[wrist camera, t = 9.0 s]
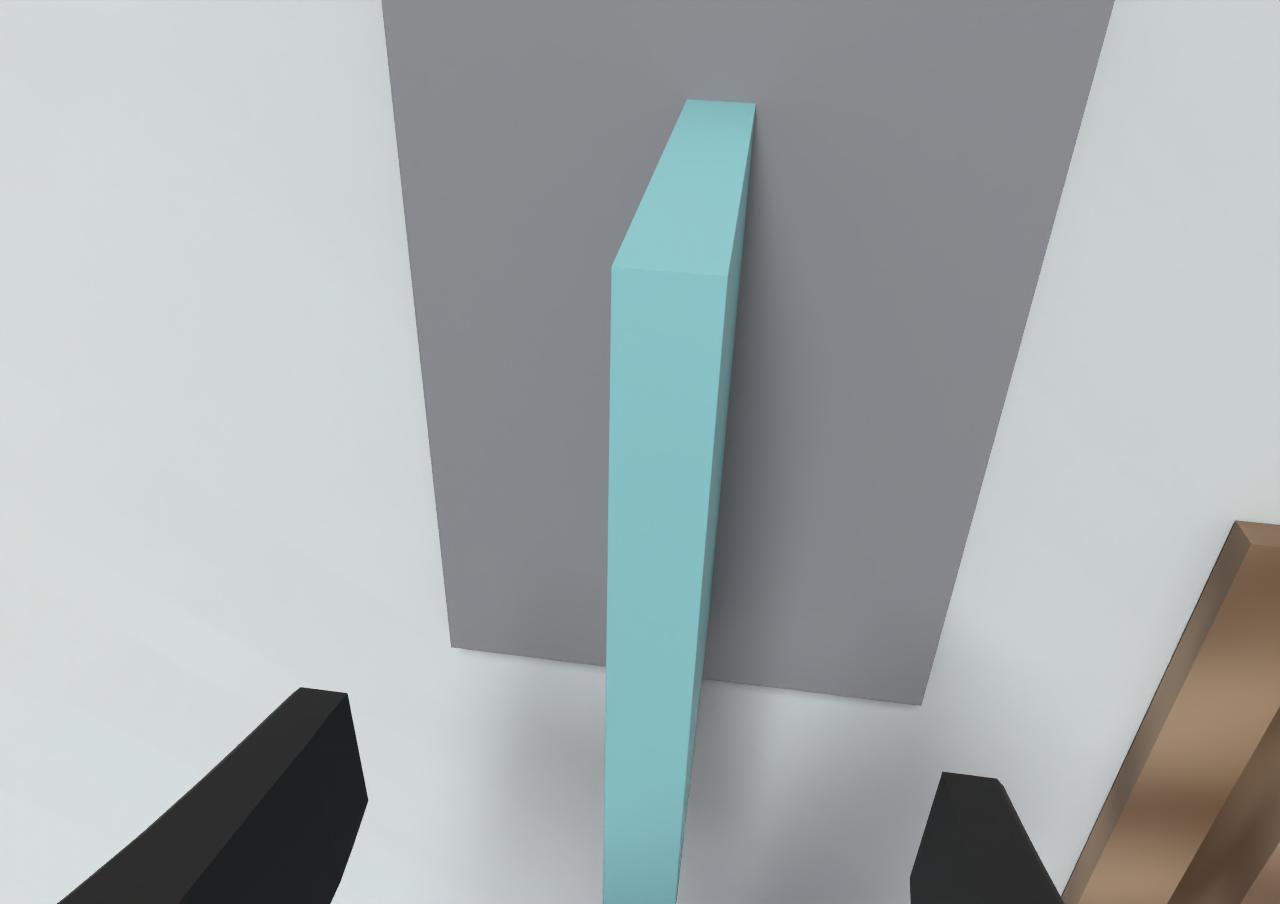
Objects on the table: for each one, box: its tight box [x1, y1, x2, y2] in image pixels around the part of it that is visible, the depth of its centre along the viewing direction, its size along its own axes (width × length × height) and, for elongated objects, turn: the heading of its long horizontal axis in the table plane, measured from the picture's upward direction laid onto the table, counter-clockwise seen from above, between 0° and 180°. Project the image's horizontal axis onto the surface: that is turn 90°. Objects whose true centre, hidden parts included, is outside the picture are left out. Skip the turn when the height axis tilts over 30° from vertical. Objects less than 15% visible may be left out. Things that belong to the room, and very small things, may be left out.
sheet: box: [603, 99, 756, 904], centre depth 16 cm, size 12×1×8 cm, turn 178°
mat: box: [382, 0, 1115, 706], centre depth 20 cm, size 16×12×1 cm
